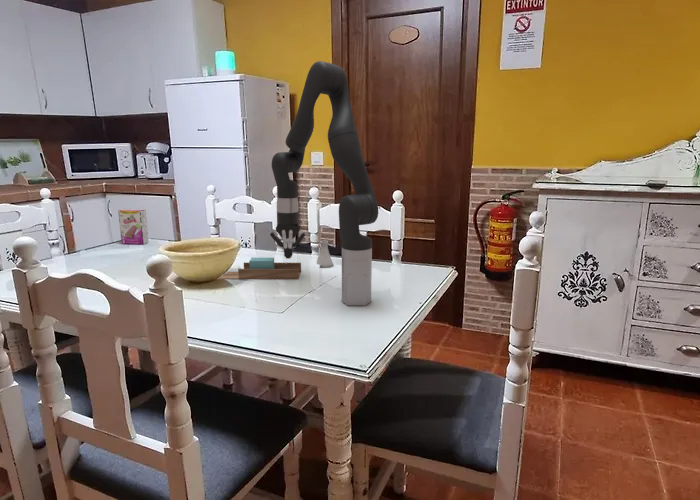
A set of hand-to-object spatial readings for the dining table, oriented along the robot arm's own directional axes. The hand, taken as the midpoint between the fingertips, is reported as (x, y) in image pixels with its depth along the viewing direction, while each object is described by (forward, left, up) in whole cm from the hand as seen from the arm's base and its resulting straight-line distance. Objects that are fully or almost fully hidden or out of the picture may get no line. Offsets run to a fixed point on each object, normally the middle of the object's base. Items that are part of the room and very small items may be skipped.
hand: (288, 257), depth 172 cm
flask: (+18, -12, -8) cm, 23 cm away
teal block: (0, +9, -6) cm, 11 cm away
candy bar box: (+57, +80, -8) cm, 98 cm away
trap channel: (0, +11, -8) cm, 14 cm away
